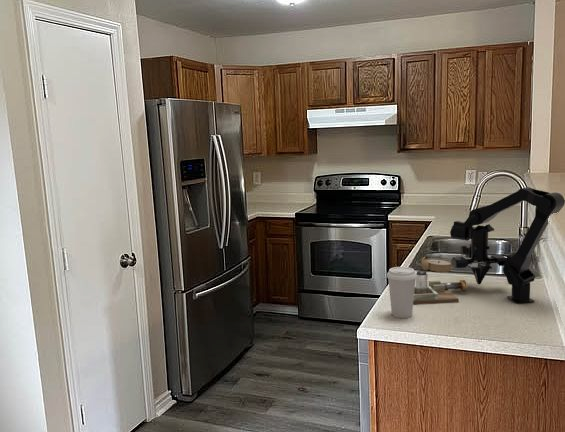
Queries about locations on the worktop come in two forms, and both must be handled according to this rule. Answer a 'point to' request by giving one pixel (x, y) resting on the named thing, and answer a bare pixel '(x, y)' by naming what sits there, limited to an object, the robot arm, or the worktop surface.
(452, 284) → the lock pin
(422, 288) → the grey cylinder
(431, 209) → the worktop surface
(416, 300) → the tray
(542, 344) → the worktop surface
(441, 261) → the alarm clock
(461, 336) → the worktop surface
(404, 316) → the coffee cup
